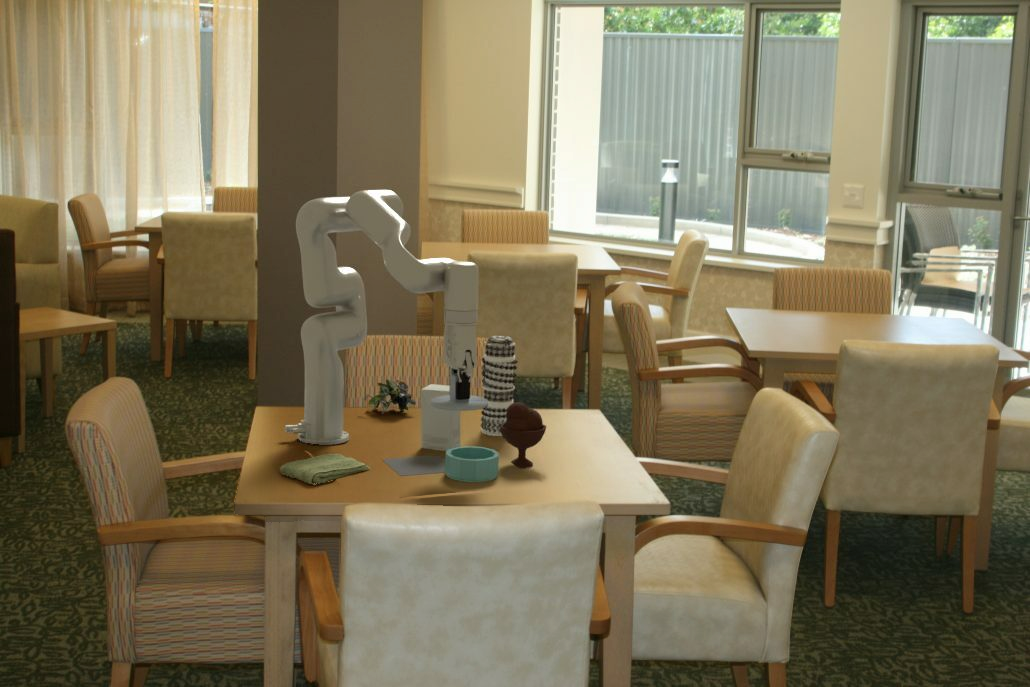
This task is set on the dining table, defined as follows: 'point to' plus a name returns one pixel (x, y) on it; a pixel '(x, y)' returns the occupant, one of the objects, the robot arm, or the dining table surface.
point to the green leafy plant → (392, 395)
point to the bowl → (471, 464)
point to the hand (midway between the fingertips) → (459, 396)
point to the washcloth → (322, 468)
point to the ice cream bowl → (522, 431)
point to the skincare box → (438, 421)
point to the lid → (458, 405)
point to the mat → (417, 465)
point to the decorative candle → (497, 382)
